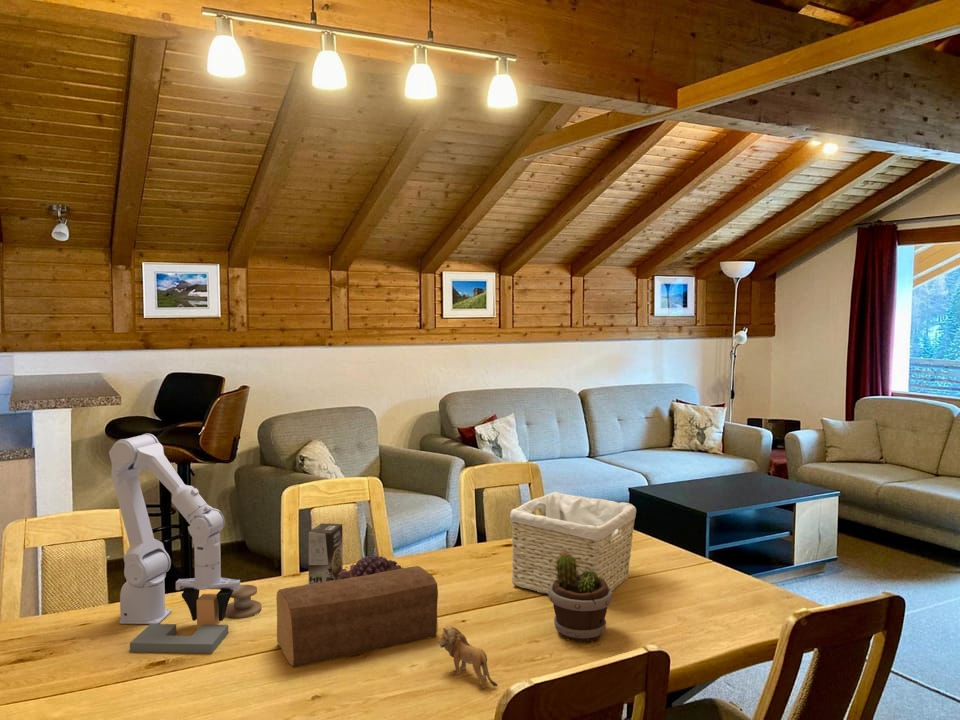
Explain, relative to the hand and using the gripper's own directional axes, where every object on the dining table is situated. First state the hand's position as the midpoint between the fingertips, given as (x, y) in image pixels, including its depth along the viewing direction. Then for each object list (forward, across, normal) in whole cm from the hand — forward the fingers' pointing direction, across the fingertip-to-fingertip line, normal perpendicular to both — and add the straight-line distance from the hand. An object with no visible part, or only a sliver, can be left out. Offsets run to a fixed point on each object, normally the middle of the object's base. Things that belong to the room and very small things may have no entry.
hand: (208, 619), depth 180 cm
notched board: (+2, -3, -9) cm, 10 cm away
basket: (+2, +89, +31) cm, 94 cm away
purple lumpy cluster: (+2, +35, +22) cm, 41 cm away
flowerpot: (+2, +87, -1) cm, 87 cm away
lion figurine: (+2, +62, -23) cm, 66 cm away
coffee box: (+2, +22, +26) cm, 34 cm away
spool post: (+2, +5, +9) cm, 10 cm away
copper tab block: (+2, 0, 0) cm, 2 cm away
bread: (+2, +36, -6) cm, 37 cm away
